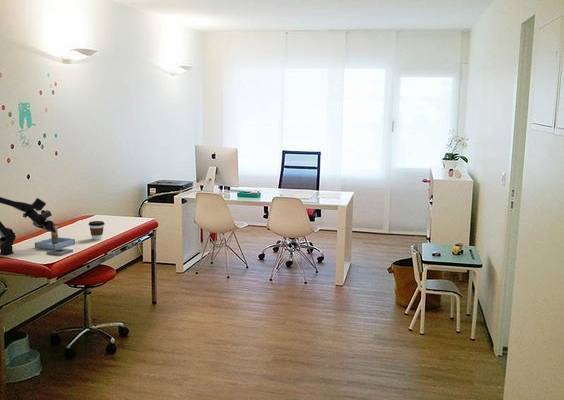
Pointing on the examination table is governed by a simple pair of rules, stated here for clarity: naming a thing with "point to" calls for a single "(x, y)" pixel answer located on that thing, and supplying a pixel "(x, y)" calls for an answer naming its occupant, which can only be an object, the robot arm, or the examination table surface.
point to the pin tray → (48, 244)
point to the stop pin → (55, 234)
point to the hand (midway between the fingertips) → (52, 231)
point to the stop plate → (59, 251)
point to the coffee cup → (96, 229)
